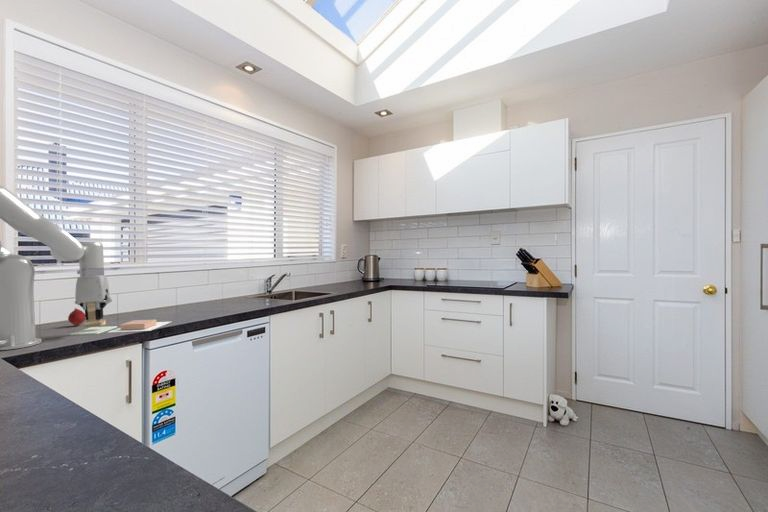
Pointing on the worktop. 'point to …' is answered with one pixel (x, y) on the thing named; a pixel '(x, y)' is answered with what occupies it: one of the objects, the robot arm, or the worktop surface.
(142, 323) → the tile
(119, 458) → the worktop surface
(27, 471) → the worktop surface
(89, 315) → the wooden block stack
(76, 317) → the onion
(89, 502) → the worktop surface
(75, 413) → the worktop surface
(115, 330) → the mat
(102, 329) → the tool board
